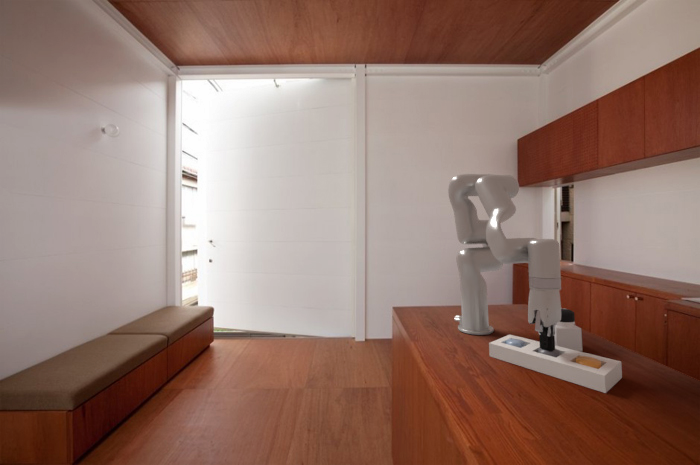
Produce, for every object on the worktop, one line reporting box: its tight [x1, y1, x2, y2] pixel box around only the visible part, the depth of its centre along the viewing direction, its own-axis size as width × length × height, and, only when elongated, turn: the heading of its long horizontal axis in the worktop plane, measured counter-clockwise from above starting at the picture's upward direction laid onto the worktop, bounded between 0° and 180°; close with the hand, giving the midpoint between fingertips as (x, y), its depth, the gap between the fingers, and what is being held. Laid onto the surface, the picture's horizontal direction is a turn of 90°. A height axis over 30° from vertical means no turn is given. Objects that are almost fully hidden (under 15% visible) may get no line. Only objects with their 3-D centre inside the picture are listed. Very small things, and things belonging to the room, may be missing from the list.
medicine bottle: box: [554, 307, 583, 352], centre depth 97 cm, size 7×7×12 cm
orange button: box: [576, 356, 601, 369], centre depth 77 cm, size 5×5×4 cm
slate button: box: [506, 339, 525, 348], centre depth 92 cm, size 5×5×4 cm
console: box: [488, 334, 623, 394], centre depth 84 cm, size 28×12×4 cm, turn 35°
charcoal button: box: [538, 347, 560, 357], centre depth 84 cm, size 5×5×4 cm
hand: (547, 349), depth 85 cm, fingers closed
